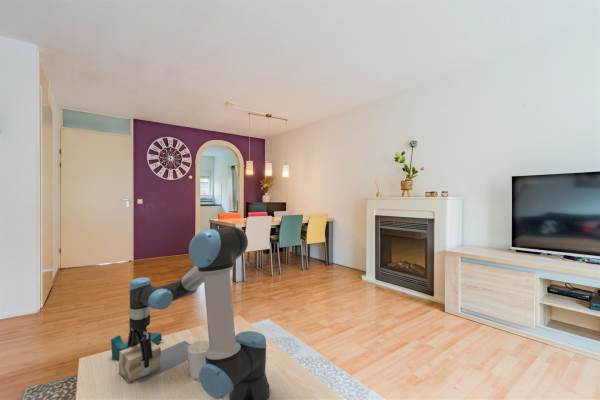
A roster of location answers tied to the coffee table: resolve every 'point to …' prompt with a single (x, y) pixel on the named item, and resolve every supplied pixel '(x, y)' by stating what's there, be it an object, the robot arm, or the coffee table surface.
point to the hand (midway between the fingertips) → (139, 369)
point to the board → (170, 359)
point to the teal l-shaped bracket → (120, 345)
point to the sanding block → (137, 362)
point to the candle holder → (197, 357)
